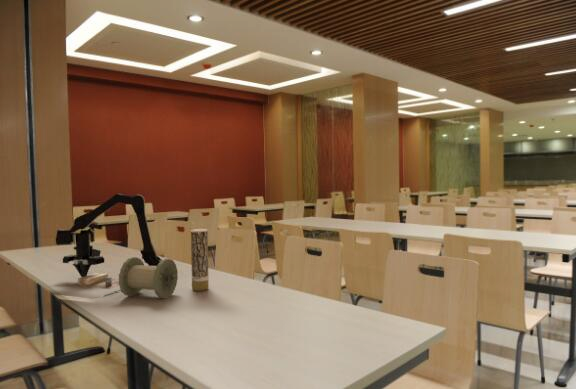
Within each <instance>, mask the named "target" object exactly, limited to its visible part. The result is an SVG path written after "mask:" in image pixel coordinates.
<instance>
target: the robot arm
mask: <svg viewBox="0 0 576 389" xmlns="http://www.w3.org/2000/svg"><path fill="white" fill-rule="evenodd" d="M119 203H120V204H121V203H122V204H124V205H125V204H126V205H131V207H132V210H133V211H134V214H135V216H136V219H137V223H138V224H137V225H138V227H139V233H140V236H141V240H142V241H141V242H142V245H143V248H141V249H140V251H139V252H140V254H141V260H143V263H144V264H147V266H157V265H158V264H159V263H160V261H161V260H163V259H161V258H160V257H159V256H158V252H157V251H156V248H155V246H154V244H153V241H152V237H151V234H150V230H149V225H148V220H147V216H146V200H145V197H144V196H143V195H141V194H135V195H130V194H129V195H127V194H122V193H116V194H114V195H113V196H112V197H110V198H109V199H107V200H106V201H104V202H102V204H100V205H98V206H96V208H94V209H93V210H91V211H88V212H86V213H84V214H82V215H79V216H77V217H76V218H75V219H74V220H73V225H72V226H71V228H70V229H57V230H56V236H55V237H56V238H55V244H56V246H71V245H73V243H75V246H74V247H73V250H75V254H69V255H65V256H63V258H62V263H63V264H69V263H70V262H73V264H72V266H74V268H75V269H76V271H77V273H78V274H79V276H80V278H81V277H85V276H88V274H89V273H88V272H89V271H90V268H91V266H96V265H100V264H104V263H105V257H104V256H101V252H102V250H100V249H96V248H94V247H93V245H92V244H91V238H90V237H91V234H95V231H94V230H93V229H92V228H91V227H90V228H88V227H89V226H90V225H92V223H93V222H94V221H95V220H96V219H97V218H98V217H100V216H101V215H102V214H104V213H107V211H109V210H110V209H111V208H113V207H114V206H116V205H117V204H119ZM86 228H88V229H86Z"/></svg>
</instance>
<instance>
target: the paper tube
mask: <svg viewBox="0 0 576 389" xmlns="http://www.w3.org/2000/svg"><path fill="white" fill-rule="evenodd" d="M208 237H209V235H208V229H206V228H195V229H191V230H190V247H191V248H190V250H191V251H190V254H191V255H190V256H191V288H192V290H193V291H195V292H203V291H206V290H208V289H209V287H210V286H209V245H208V244H209V242H208V241H209V239H208Z"/></svg>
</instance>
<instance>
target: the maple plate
mask: <svg viewBox="0 0 576 389" xmlns="http://www.w3.org/2000/svg"><path fill="white" fill-rule="evenodd" d="M106 277H109V273H101V272H96V273H92V274H90V275H87V276H85V277H81V276H80V277H78V278H77V283H78V284H82V285H91V284H95V283H98V282H101V281H104V280H105V278H106Z"/></svg>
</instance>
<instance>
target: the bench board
mask: <svg viewBox="0 0 576 389" xmlns="http://www.w3.org/2000/svg"><path fill="white" fill-rule="evenodd" d="M119 275H120V272H119V273H118V276H119ZM71 286H77V287H85V288H86V287H89V288H98V289H111V288H113V287H116V286H119V278H112V276H108V277H106V278H105V280H104V281H101V282H98V283H95V284H91V285H82V284H78V282H76V283H73V284H71Z"/></svg>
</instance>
